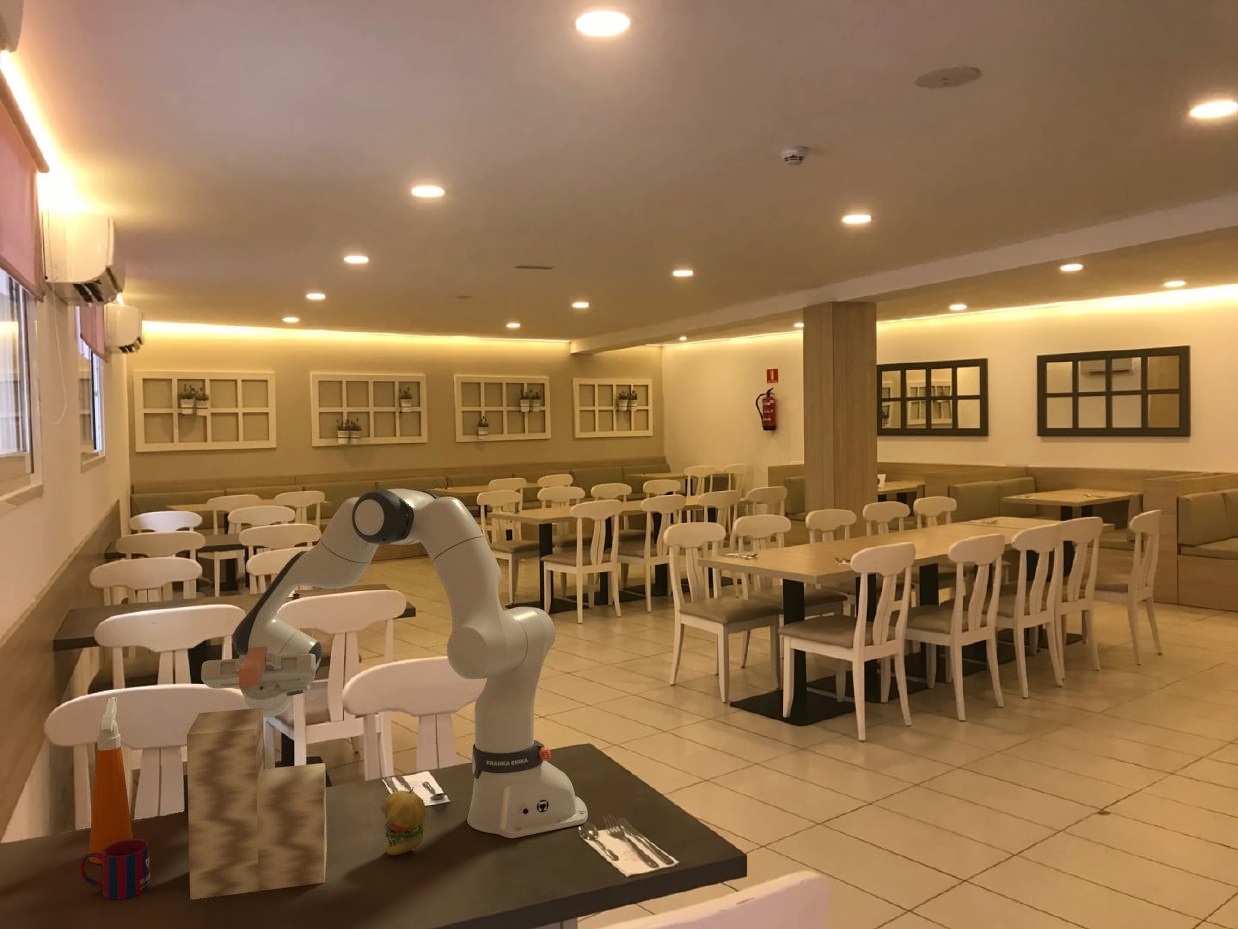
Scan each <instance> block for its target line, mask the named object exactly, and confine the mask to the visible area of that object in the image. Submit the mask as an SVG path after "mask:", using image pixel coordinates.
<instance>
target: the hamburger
mask: <svg viewBox="0 0 1238 929" xmlns="http://www.w3.org/2000/svg"><path fill="white" fill-rule="evenodd" d="M413 790H414V786H413V787H412V788H411V789H410V790H409V791H407V790H402V789H401V790H396V791H394V792H391V793H389V795H387V797H386V798H385V799H384V801H383V803H382V806H381V811H382V813H383V815H384V818H385V819H387V820H386V822H385V824H384V828H385V831H386V832H384V836H385V838H387V844H386V845H385V846H384V847H383V850H384V852H385V853H386V854H387V855H388V856H400V855H403V854H405V853H408V852H410V851H412V850H413V849H416V848H417V847H418V846H419V845H420V844H421V843H422V842H423V839H424V831H425V829H424V827H425V824H426V823H425V821H424V820H425V818H426V814H427V808H426V805H425V803H424V799H423V798H421V797H420V795H418V794H416V793H414V792H413Z"/></svg>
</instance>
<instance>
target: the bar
mask: <svg viewBox="0 0 1238 929" xmlns="http://www.w3.org/2000/svg"><path fill="white" fill-rule="evenodd" d="M266 653H267V646H264V647H251V648H250V649H249V651H248V653H247V655H246V657H245V658H244V660H243V662H242V664H241V666H240V668H239V687H238V688H240V687H250V686H258V685H259V682H260V680H261V677H262V675H263V672H264V670H265V667H266V664H265V654H266Z"/></svg>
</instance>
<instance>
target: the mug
mask: <svg viewBox="0 0 1238 929" xmlns="http://www.w3.org/2000/svg"><path fill="white" fill-rule="evenodd" d="M150 854H151V853H150V842H149V841H148V840H146V839H143V838H133V839H129V840H123V841H119V842H116V843H113V844H111V845H109V846H107V847H106V848H105V849H104V850H103V851H102V853H90V854H89V853H88V854H86V855H85V856H83V858H82V860H81V861H80V866H79V872H80V876H81V878H82V879H83V881H84V882H86V883H87V884H89V885H91V886H94V887H101V888H102V896H103V897H104V898H106V899H108V900H125V899H129V898H133V897H136V896H139V895H140V894H142V893H144V892H146V891H147V890H149V888H150V886H151V865H150V864H151V862H150V861H151V860H150V859H151V858H150V856H151V855H150ZM89 857H96V858H99V859H100V860H102V864H101V865H102V867H101V868H102V870H101V871H102V876H101V877H102V879H101V880H96V879H93V878H91V877H90V876H88V874H87V872H86V869H85V864H86V861H87V859H89Z"/></svg>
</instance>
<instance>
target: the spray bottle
mask: <svg viewBox="0 0 1238 929" xmlns="http://www.w3.org/2000/svg"><path fill="white" fill-rule="evenodd" d="M117 704H118V699H117V697H115V696H112V697H109V698H107V699H106V704H105V709H104V710H103V715H102V719H101V723H100V725H99V729H98V735H99V736H98V737H97V740H96V742H97V749H96V761H95V773H94V785H93V798H92V807H91V808H92V809H91V810H92V811H91V821H90V822H91V823H90V834H89V847H88V848H89V849H88V854H90V853H102V851H103V850H104V849H105V848H106V847H107V846H109V845H111V844H113V843H116V842H119V841H123V840H129V839H134V835H133V826H132V821H131V820H132V819H131V812H130V804H129V798H128V790H127V782H126V774H125V768H124V767H125V766H124V759H123V750H122V744H121V741H122V740H121V734H120V733H119V725H118V723H117V721H116V716H117V711H118V706H117ZM88 861H89V862H91V863H93V864H96V865H97V864H99V865H102V860H100V859H99V858H96V857H89V858H88Z"/></svg>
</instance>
